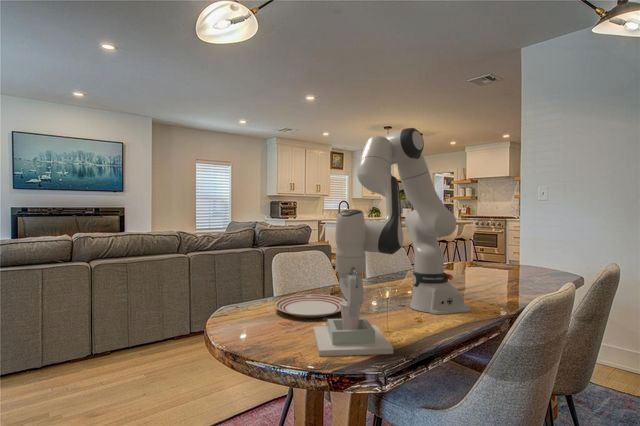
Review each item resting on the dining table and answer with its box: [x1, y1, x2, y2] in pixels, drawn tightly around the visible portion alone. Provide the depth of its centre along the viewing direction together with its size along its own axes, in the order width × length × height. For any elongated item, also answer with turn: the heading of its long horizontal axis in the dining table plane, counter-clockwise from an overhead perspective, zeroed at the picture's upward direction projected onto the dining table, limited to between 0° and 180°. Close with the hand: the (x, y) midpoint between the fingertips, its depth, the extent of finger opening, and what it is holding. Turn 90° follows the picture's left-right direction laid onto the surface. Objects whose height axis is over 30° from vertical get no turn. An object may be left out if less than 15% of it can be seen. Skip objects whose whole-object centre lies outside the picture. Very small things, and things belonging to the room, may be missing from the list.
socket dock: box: [312, 317, 394, 357], centre depth 109 cm, size 20×20×5 cm
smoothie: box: [340, 301, 362, 330], centre depth 109 cm, size 6×6×14 cm
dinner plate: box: [274, 293, 345, 319], centre depth 143 cm, size 28×27×3 cm
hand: (350, 312), depth 109 cm, fingers closed on smoothie, 6 cm apart
